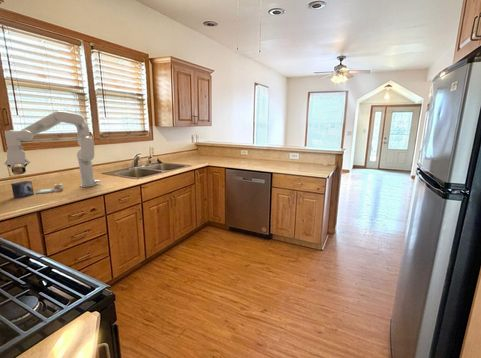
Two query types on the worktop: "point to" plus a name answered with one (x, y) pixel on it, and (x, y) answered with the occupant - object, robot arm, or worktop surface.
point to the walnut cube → (18, 170)
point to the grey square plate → (45, 191)
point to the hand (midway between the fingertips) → (19, 172)
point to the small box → (22, 189)
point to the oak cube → (58, 187)
